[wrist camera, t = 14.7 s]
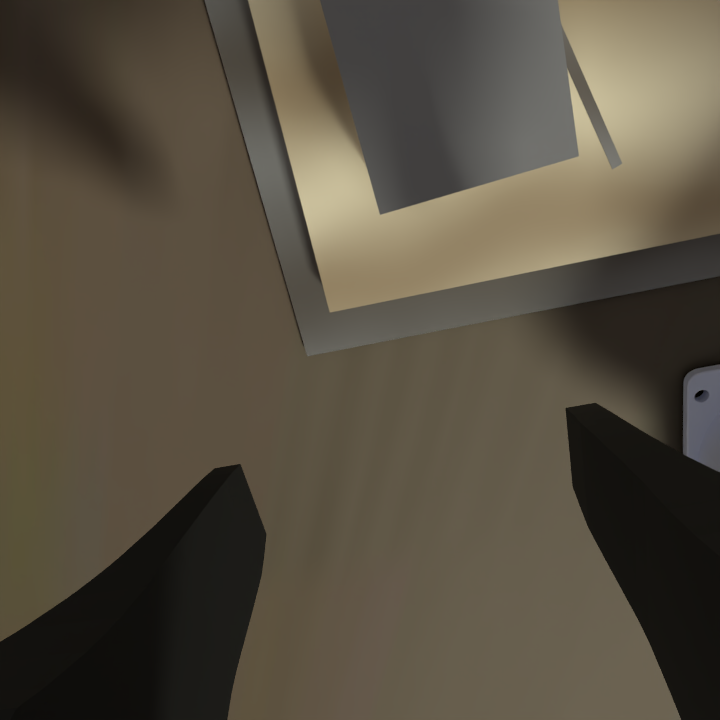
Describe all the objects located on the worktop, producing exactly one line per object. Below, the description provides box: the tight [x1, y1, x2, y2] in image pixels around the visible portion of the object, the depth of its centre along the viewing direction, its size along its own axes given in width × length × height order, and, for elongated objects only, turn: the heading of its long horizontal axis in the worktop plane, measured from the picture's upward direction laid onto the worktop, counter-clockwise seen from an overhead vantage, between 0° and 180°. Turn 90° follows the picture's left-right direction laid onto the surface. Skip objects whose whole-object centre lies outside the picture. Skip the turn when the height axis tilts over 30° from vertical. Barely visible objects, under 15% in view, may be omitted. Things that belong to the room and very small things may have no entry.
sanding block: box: [320, 0, 579, 215], centre depth 13 cm, size 8×4×4 cm, turn 17°
